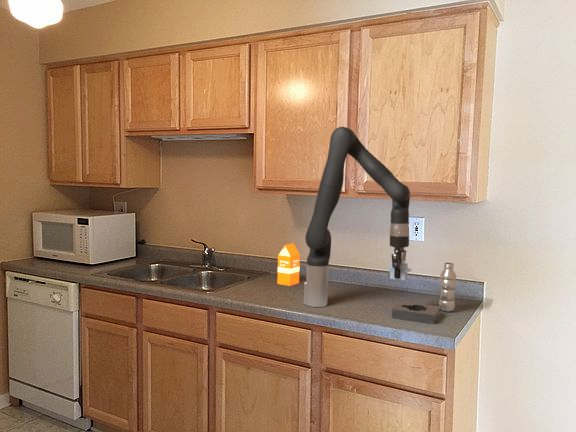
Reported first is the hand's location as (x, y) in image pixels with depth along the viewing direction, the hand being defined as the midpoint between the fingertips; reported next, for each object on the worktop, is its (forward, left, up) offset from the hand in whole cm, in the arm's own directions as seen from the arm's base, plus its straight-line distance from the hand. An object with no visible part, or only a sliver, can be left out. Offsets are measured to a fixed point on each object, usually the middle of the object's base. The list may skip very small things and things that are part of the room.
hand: (398, 277), depth 196 cm
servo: (0, 0, -1) cm, 1 cm away
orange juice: (-62, +25, -15) cm, 69 cm away
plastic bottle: (+17, +15, -15) cm, 27 cm away
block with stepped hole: (+8, 0, -15) cm, 17 cm away
